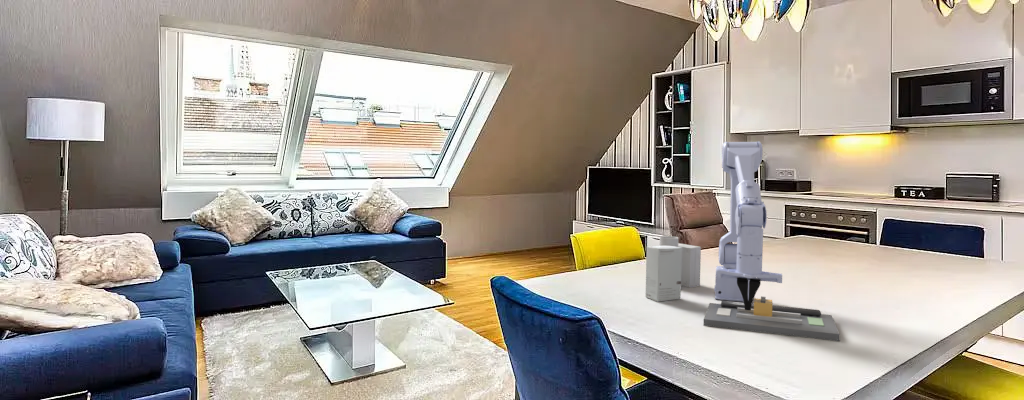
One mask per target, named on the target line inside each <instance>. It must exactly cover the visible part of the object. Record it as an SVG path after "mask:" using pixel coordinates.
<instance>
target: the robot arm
mask: <svg viewBox="0 0 1024 400" xmlns="http://www.w3.org/2000/svg"><path fill="white" fill-rule="evenodd" d="M763 152H764V151H763V144H762V142H761V141H760V140H757V141H724V142H723V143H722V146H721V168H722V172H724V173H726V174H728V175H729V180H730V200H729V201H730V209H729V210H730V212H729V214H730V217H729V218H730V220H729V222H730V223H729V231H728V232H727V233H725V234H724V235H723V236H721V237H720V239H719V245H718V263H719V265H717V266H716V267H715V280H714V281H715V285H714V299H715V300H720V301H732V302H742V303H744V306H745V310H751V305H752V304H753V302H754V298H755V295H756V294H757V291H759V288H760V286H761V282H767V283H768V282H769V283H771V282H772V283H777V284H783V273H779V272H778V273H777V272H771V271H770V272H769V271H763V254H764V253H763V251H764V250H763V248H764V247H763V246H764V229H765V228H766V225H767V220H768V215H767V208H766V207H767V206H766V204H765V203H764V201H763V199H762V194H761V188H760V185H759V183H757V182H756V181H755V172H758V170H759V168H760V166H761V163H762V160H763V155H764V153H763Z"/></svg>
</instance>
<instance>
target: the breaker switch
mask: <svg viewBox="0 0 1024 400" xmlns="http://www.w3.org/2000/svg"><path fill="white" fill-rule="evenodd" d="M753 304H754V315H760V316H769V317H772V305H773V299H766V296H760V298H758V297H757V298H755V297H754V299H753Z"/></svg>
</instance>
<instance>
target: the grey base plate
mask: <svg viewBox="0 0 1024 400" xmlns="http://www.w3.org/2000/svg"><path fill="white" fill-rule="evenodd" d="M703 326H707V327H715V328H724V329H732V330H740V331H741V330H742V331H749V332H756V333H757V332H758V333H767V334H777V335H784V336H792V337H800V338H810V339H819V340H828V341H834V342H840V337H841V336H840V332H839V330H838V328H837V325H836V323H835V320H834V318H833V315H832V314H825V313H822V312H821V310H819V309H812V308H801V307H791V306H781V305H773V304H772V317H769V316H760V315H754V303H752V305H751V310H745V306H744V302H741V301H730V300H721V301H720V303H714V302H709V304H708V306H707V309H706V311H705V314H704V317H703Z"/></svg>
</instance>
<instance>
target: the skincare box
mask: <svg viewBox="0 0 1024 400" xmlns="http://www.w3.org/2000/svg"><path fill="white" fill-rule="evenodd" d="M681 258H682V248H680V247H675V246H660V245H649V246H648V245H647V246H646V260H645V261H646V263H645V296H644V297H645V298H648V299H649V300H652V301H655V302H665V301H674V300H680V299H681V295H682V294H681V291H682V290H681V289H682V286H681Z"/></svg>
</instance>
